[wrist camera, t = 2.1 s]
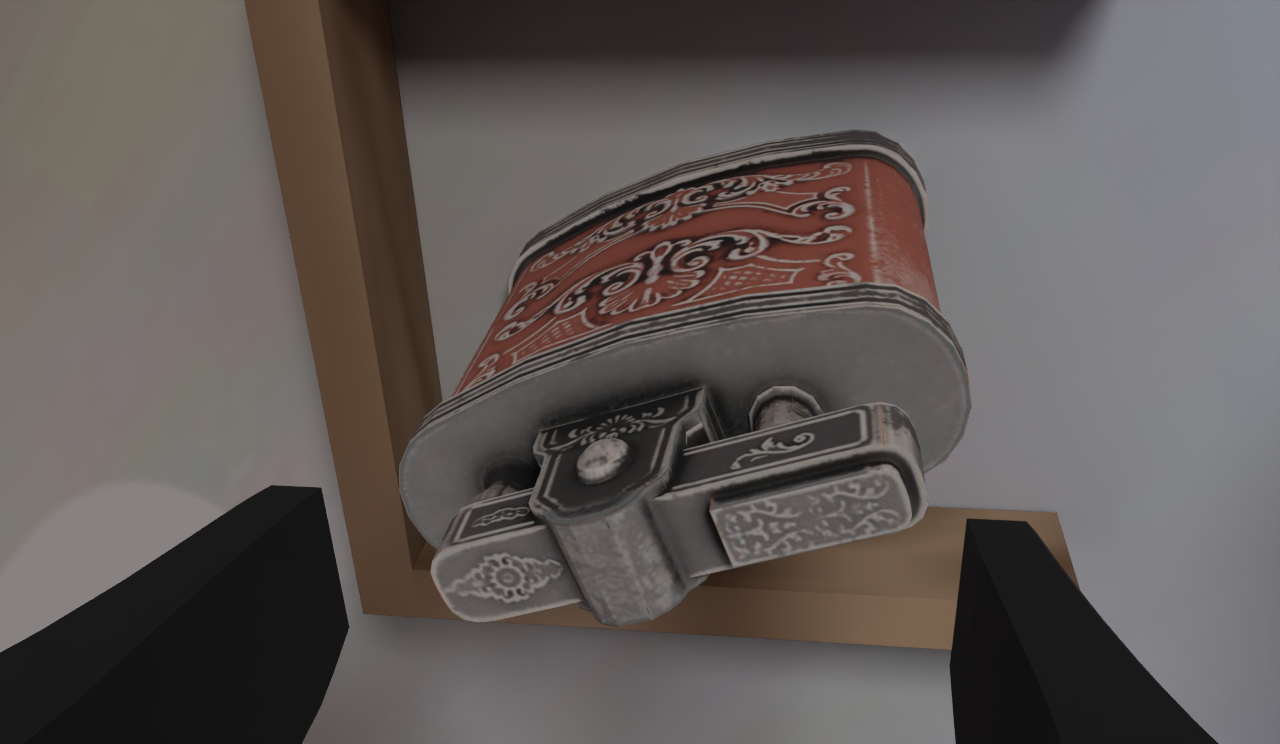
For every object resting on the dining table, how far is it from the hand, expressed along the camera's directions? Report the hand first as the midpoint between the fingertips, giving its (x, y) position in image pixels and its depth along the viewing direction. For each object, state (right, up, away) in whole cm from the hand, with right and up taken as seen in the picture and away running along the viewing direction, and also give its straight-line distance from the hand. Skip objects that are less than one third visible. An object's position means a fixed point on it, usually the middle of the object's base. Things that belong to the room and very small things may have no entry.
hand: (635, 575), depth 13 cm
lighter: (+1, +5, +9) cm, 11 cm away
